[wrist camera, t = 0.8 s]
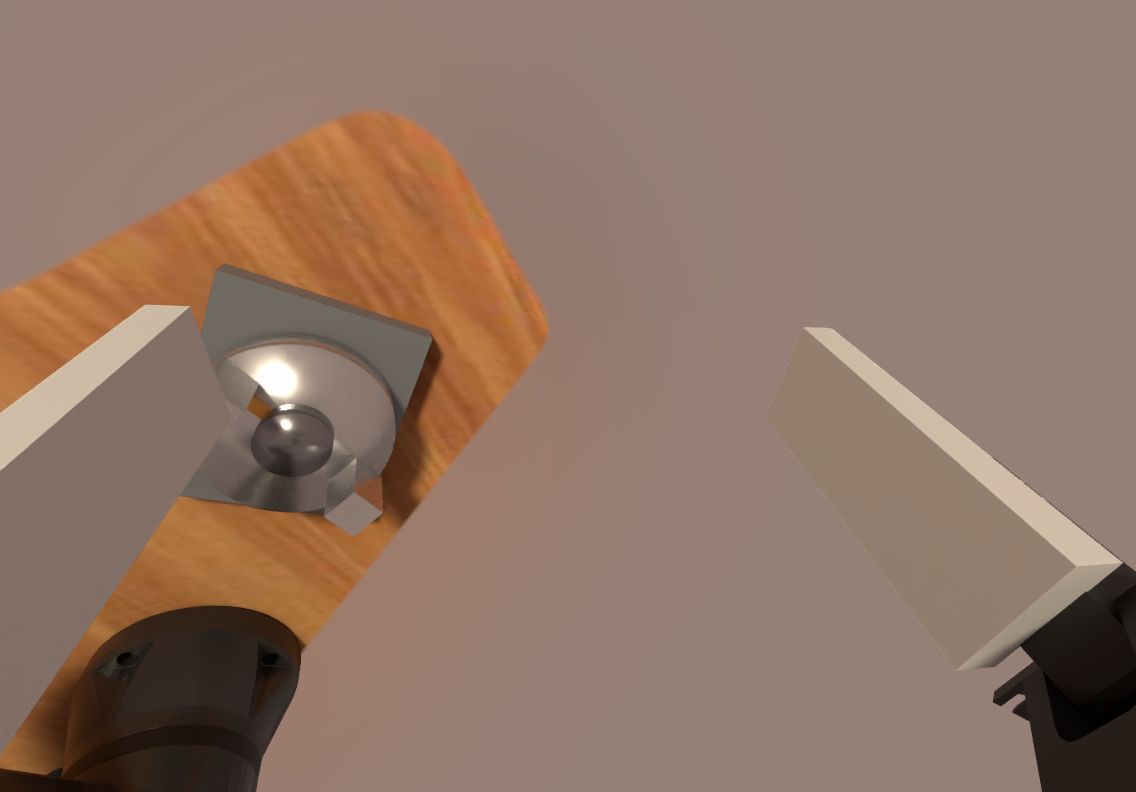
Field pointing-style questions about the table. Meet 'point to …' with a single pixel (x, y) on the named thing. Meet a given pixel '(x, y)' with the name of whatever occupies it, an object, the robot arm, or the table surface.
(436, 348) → the table surface
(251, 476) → the silver metal dome
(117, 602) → the table surface
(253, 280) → the gray square base plate
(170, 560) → the table surface
